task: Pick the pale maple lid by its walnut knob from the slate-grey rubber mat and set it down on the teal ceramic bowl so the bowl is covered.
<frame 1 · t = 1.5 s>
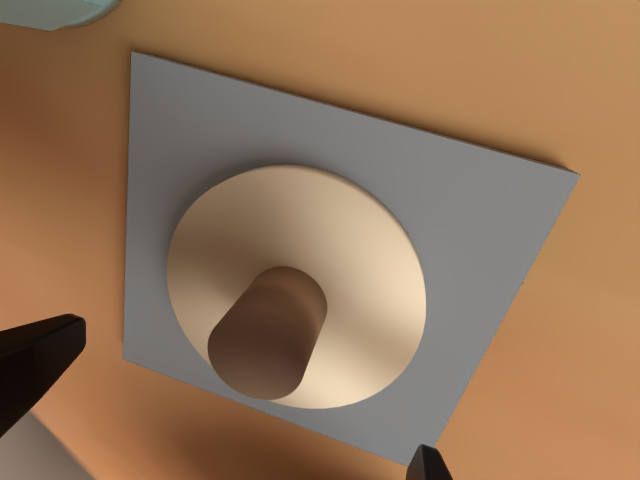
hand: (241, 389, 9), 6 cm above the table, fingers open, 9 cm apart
lid: (295, 289, 14), point 1 cm above the table, touching mat
mat: (301, 279, 15), on the table
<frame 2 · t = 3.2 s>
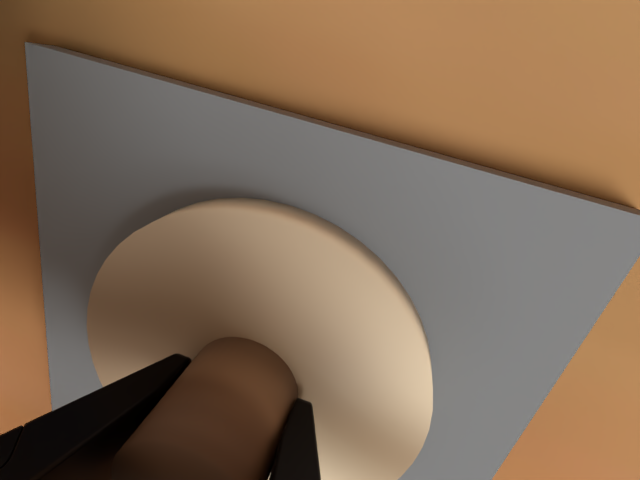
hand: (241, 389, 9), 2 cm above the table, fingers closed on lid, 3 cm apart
lid: (259, 358, 11), point 1 cm above the table, touching gripper, mat
mat: (269, 341, 11), on the table
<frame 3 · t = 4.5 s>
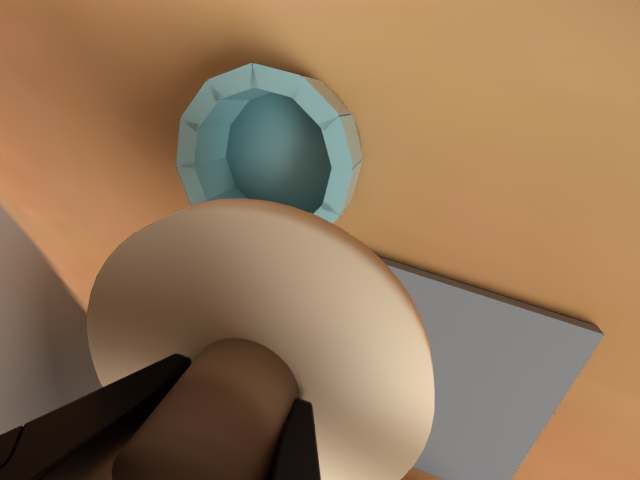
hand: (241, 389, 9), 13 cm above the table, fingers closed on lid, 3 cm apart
lid: (260, 359, 11), point 12 cm above the table, touching gripper
mat: (422, 374, 23), on the table
bowl: (287, 155, 20), on the table
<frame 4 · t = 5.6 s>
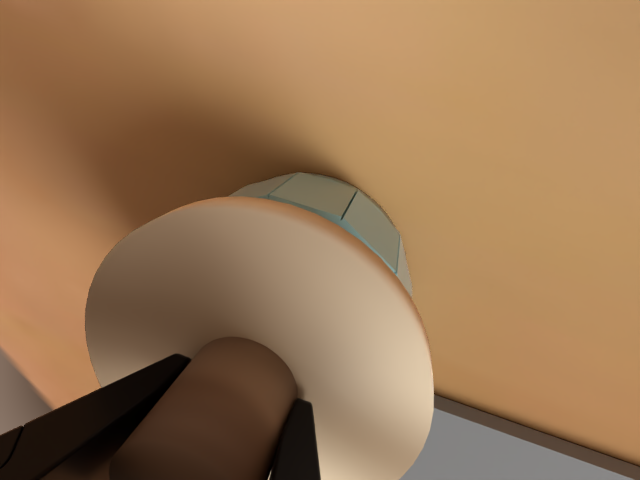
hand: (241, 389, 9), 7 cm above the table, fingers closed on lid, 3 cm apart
lid: (258, 358, 10), point 6 cm above the table, touching gripper
bowl: (308, 268, 16), on the table
when the fingers open (7 cm above the table, at t = 6.2 s): lid drops 2 cm, resting on bowl.
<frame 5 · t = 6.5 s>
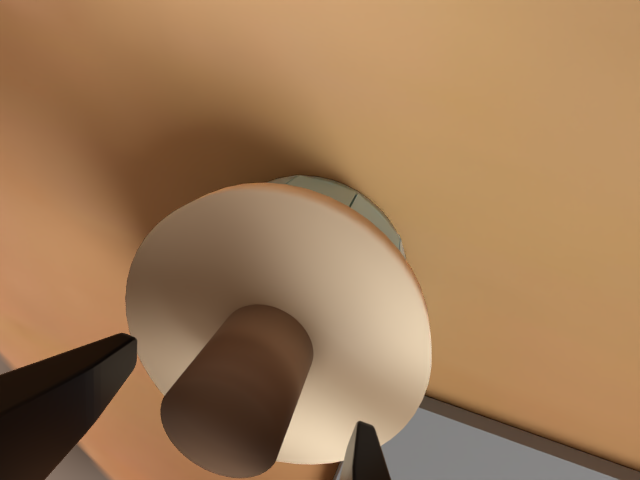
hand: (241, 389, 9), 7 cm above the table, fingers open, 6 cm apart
lid: (277, 327, 12), point 4 cm above the table, touching bowl
bowl: (307, 272, 16), on the table
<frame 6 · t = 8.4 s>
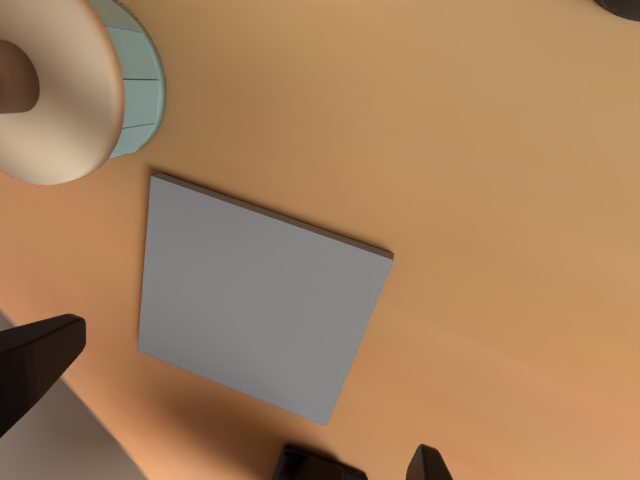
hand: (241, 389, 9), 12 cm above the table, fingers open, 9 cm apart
lid: (32, 77, 17), point 4 cm above the table, touching bowl
mat: (251, 305, 24), on the table
bowl: (99, 79, 20), on the table
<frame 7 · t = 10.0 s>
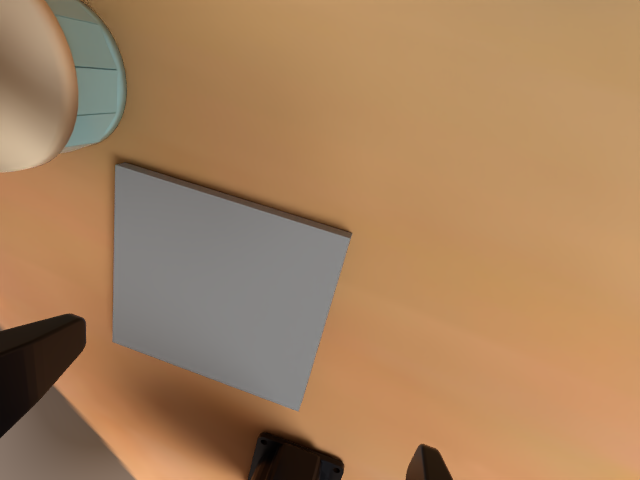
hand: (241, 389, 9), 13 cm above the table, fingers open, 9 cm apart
mat: (219, 291, 24), on the table
bowl: (63, 73, 21), on the table
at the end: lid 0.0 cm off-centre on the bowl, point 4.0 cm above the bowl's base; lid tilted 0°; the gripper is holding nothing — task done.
